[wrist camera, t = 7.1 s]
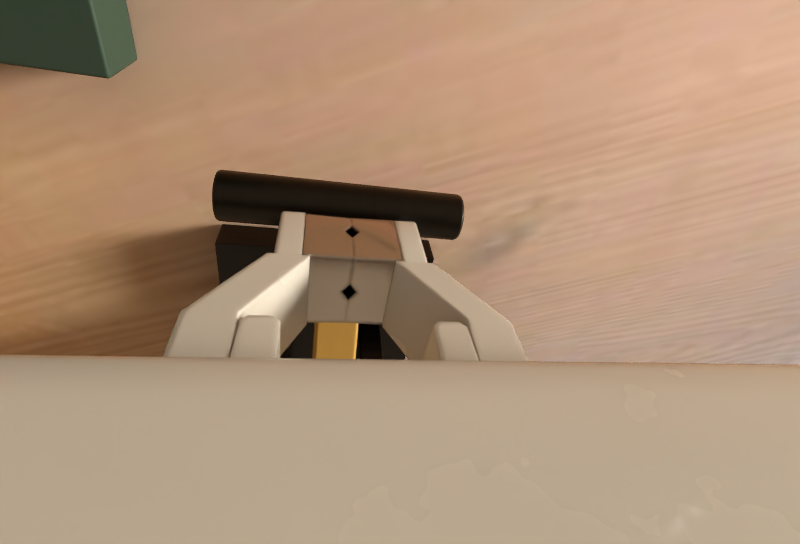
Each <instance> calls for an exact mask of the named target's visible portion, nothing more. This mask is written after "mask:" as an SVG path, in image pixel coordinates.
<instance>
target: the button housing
mask: <svg viewBox="0 0 800 544" xmlns="http://www.w3.org/2000/svg"><path fill="white" fill-rule="evenodd" d="M136 60H137V55H136V50H135V45H134V40H133V35H132V29H131V24H130V19H129V14H128V9H127V4H126V0H0V63H3V64H10V65H17V66H24V67H31V68H38V69H45V70H52V71H59V72H66V73H74V74H81V75H88V76H95V77H102V78H111V77H112V76H114V75H115V74H117V73H118V72H120V71H121V70H122V69H124V68H125V67H127V66H128V65H130V64H131V63H133V62H134V61H136Z"/></svg>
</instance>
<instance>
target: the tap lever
mask: <svg viewBox="0 0 800 544" xmlns="http://www.w3.org/2000/svg"><path fill="white" fill-rule="evenodd" d="M212 205H213V212H214V215H215V218H216V219H217V220H219V221H226V222H239V223H251V224H263V225H276V226H279V222H280V217H281V213H282V212H283V211H291V212H305V214H307V213H312V214H321V215H331V216H341V217H351V218H358V219H375V220H392V221H414V222H415V223H416V225H417V228H418V231H419V235H420V237H424V238H436V239H449V240H454V239H456V238H457V237H458V236H459V234H460V232H461V229H462V225H463V220H464V204H463V200H462V198H461V197H460V196H459V195H455V194H446V193H436V192H427V191H417V190H408V189H399V188H389V187H380V186H370V185H361V184H351V183H342V182H332V181H323V180H313V179H304V178H294V177H285V176H275V175H266V174H256V173H247V172H237V171H228V170H219V171H217V173H216V175H215V178H214V182H213V190H212ZM358 324H359V323H314V339H313V354H312V359H356V347H357V335H358Z"/></svg>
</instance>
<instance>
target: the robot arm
mask: <svg viewBox="0 0 800 544" xmlns="http://www.w3.org/2000/svg"><path fill="white" fill-rule="evenodd" d="M307 322H313V323H360V324H377V325H382V327H383V328H384V329H385V330H386V332H387V333H388V334H389V335H390V337H391V338H392V339H393V340H394V342H395V343H396V344H397V345H398V347H399V348H400V349H401V350H402V352H403V353H404V354H405V355H406V357H407V358H408V359H409V360H384V359H302V358H280V356H281V355H282V353H283V352H284V351H285V350H286V349H287V347H288V346H289V345H290V344H291V343H292V341H293V340H294V339H295V338H296V337H297V335H298V334H299V333H300V332H301V331H302V329H303V328H304V327H305V326H306V325H307ZM0 544H800V365H782V364H704V363H625V362H541V361H528V359H527V357H526V354H525V352H524V350H523V348H522V346H521V343H520V341H519V339H518V337H517V335H516V332H515V330H514V328H513V326H512V324H511V322H510V321H508V320H507V319H506V318H504V317H503V316H502V315H501V314H499V313H498V312H497V311H495V310H494V309H493V308H491V307H490V306H489V305H487V304H486V303H485V302H484V301H482V300H481V299H480V298H478V297H477V296H476V295H474V294H473V293H472V292H471V291H469V290H468V289H467V288H465V287H464V286H463V285H461V284H460V283H459V282H458V281H456V280H455V279H454V278H452V277H451V276H450V275H448V274H447V273H446V272H444V271H443V270H442V269H441V268H439V267H438V266H437V265H435V264H434V263H428V262H427V258H426V255H425V252H424V248H423V245H422V242H421V238H420V235H419V231H418V228H417V225H416V223H415V222H414V221H392V220H375V219H358V218H351V217H341V216H331V215H321V214H312V213H307V214H305V212H291V211H283V212H282V213H281V217H280V222H279V228H278V233H277V239H276V244H275V250H274V253H266V254H264V255H263V256H261V257H260V258H258V259H257V260H256V261H254V262H253V263H251V264H250V265H248V266H247V267H245V268H244V269H242V270H241V271H239V272H238V273H236V274H235V275H233V276H232V277H230V278H229V279H227V280H226V281H224V282H223V283H221V284H220V285H218V286H217V287H215V288H214V289H212V290H211V291H209V292H208V293H206V294H205V295H204V296H202V297H201V298H199V299H198V300H196V301H195V302H193V303H192V304H190V305H189V306H187V307H186V308H184V309H183V310H181V312H180V314H179V317H178V319H177V322H176V324H175V327H174V329H173V331H172V334H171V336H170V339H169V341H168V344H167V346H166V349H165V351H164V354H163V356H162V357H149V356H72V355H0Z"/></svg>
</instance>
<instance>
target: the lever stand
mask: <svg viewBox="0 0 800 544" xmlns="http://www.w3.org/2000/svg"><path fill="white" fill-rule="evenodd" d="M277 233H278V229H277V228H264V227H251V226H239V225H226V224H222V226H221V229H220V232H219V234H218V237H217V240H216V243H215V247H216V255H217V263H218V272H219V280H220V284H221V283H223V282H224V281H226V280H227V279H229V278H230V277H232V276H233V275H235V274H236V273H238V272H239V271H241V270H242V269H244V268H245V267H247V266H248V265H250V264H251V263H253V262H254V261H256V260H257V259H258V258H260V257H261V256H263V255H264V254H266V253H274V250H275V244H276V239H277ZM421 242H422V245H423V248H424V252H425V255H426V258H427V262H428V263H433V260H434V258H433V254H432V251H431V248H430V244H429V241H427V240H421ZM313 339H314V323H313V322H307V325H306V326H305V327H304V328H303V329H302V331H301V332H300V333H299V334H298V335H297V337H296V338H295V339H294V340H293V341H292V343H291V344H290V345H289V346H288V347H287V349H286V350H285V351H284V352H283V353H282V355H281V356H280V358H302V359H312V354H313ZM405 356H406V355H405V354H404V353H403V352H402V350H401V349H400V348H399V347H398V345H397V344H396V343H395V342H394V340H393V339H392V338H391V337H390V335H389V334H388V333H387V332H386V330H385V329H384V328H383V327H382V325H377V324H360V323H359V324H358V335H357V347H356V359H384V360H404V359H405Z"/></svg>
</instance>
